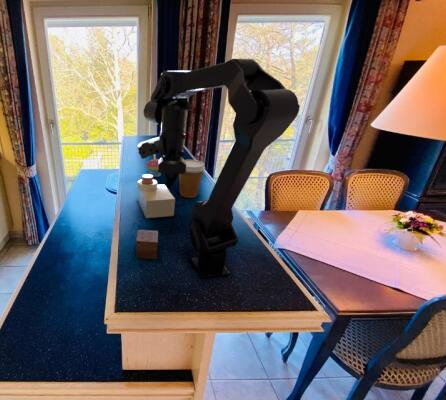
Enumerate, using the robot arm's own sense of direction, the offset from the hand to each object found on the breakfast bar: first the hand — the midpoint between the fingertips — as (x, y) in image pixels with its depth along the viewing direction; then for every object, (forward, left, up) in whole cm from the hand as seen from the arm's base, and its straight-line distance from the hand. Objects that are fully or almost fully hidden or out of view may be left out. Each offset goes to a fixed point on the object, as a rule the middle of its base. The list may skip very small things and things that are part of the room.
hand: (169, 187), depth 71 cm
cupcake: (+44, -8, -13) cm, 47 cm away
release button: (+17, +2, -5) cm, 18 cm away
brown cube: (-10, +8, -13) cm, 18 cm away
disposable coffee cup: (+22, -15, -13) cm, 30 cm away
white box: (+13, 0, -13) cm, 18 cm away
